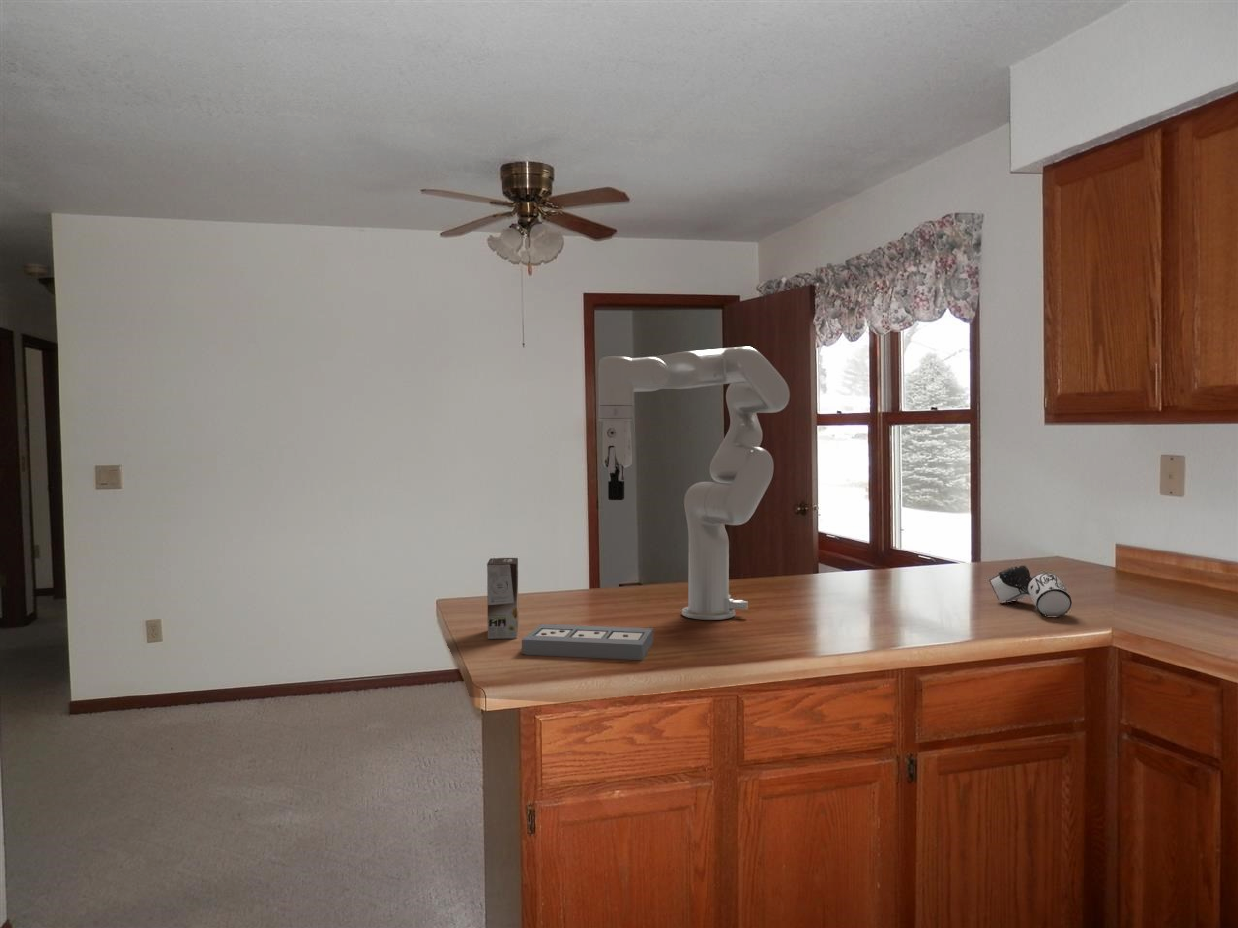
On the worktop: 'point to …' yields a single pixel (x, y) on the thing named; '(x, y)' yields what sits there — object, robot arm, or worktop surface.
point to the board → (588, 643)
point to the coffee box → (502, 598)
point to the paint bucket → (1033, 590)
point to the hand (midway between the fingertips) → (616, 499)
